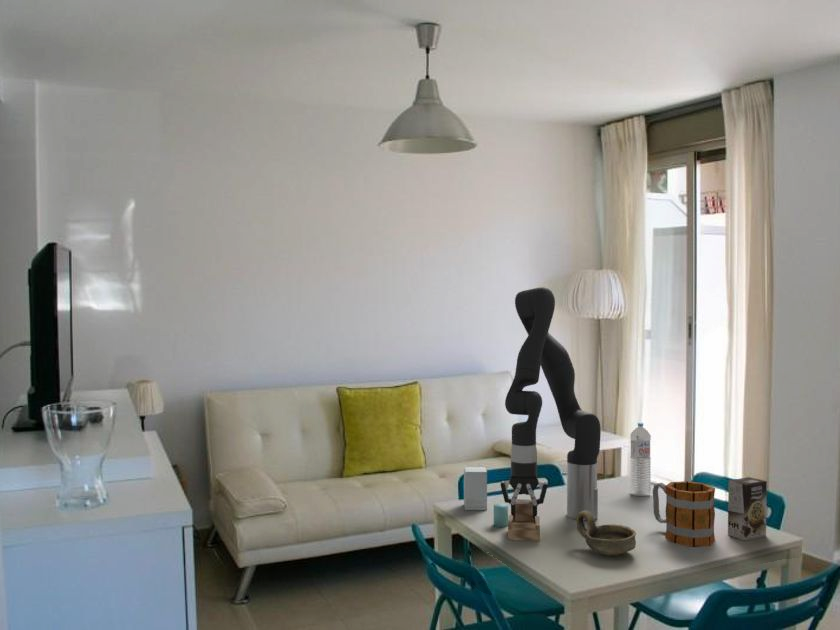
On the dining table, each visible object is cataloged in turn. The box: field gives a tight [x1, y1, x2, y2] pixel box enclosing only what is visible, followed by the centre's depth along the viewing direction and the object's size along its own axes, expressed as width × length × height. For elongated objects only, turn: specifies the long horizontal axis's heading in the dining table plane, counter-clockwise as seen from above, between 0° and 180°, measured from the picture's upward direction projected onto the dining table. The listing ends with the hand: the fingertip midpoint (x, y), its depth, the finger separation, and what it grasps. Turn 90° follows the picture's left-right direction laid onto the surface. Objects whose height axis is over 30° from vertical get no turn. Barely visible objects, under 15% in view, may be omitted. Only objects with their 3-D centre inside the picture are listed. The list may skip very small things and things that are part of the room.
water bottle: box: [629, 422, 652, 497], centre depth 263 cm, size 7×7×25 cm
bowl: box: [575, 510, 637, 556], centre depth 205 cm, size 14×18×10 cm
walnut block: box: [515, 498, 533, 522], centre depth 219 cm, size 5×5×5 cm
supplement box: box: [463, 466, 488, 511], centre depth 248 cm, size 7×7×13 cm
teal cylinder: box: [493, 503, 509, 528], centre depth 229 cm, size 4×4×6 cm
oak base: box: [507, 514, 541, 542], centre depth 219 cm, size 9×9×4 cm
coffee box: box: [727, 476, 768, 541], centre depth 218 cm, size 9×6×16 cm
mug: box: [652, 480, 716, 548], centre depth 218 cm, size 20×14×15 cm
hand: (523, 517), depth 219 cm, fingers closed on walnut block, 5 cm apart
